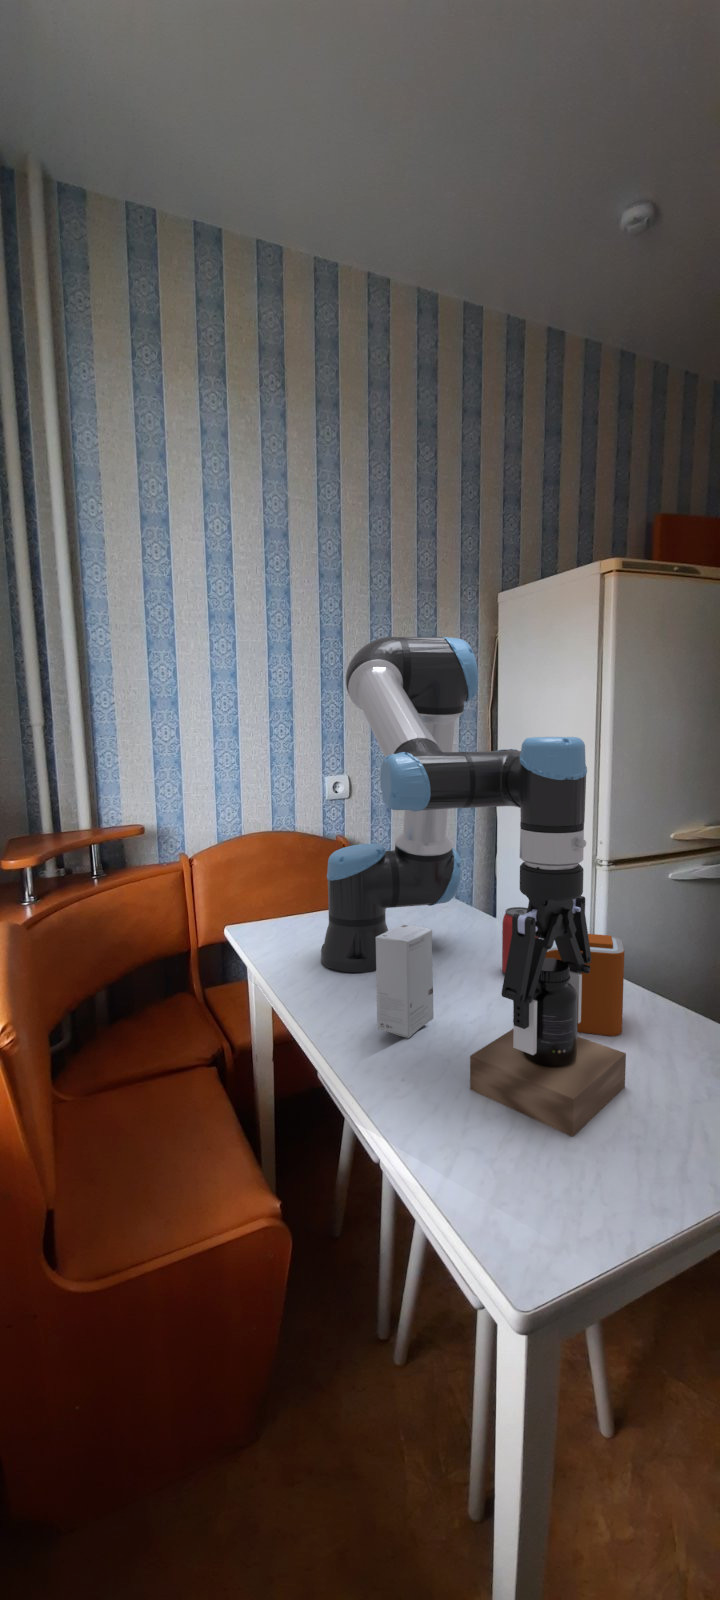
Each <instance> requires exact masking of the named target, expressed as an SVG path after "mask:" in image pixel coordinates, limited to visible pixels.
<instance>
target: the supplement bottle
mask: <svg viewBox="0 0 720 1600" xmlns="http://www.w3.org/2000/svg"><path fill="white" fill-rule="evenodd" d="M569 974H570V967H569V965H568V964H567V963H566V962H564V961H562V960H558V959H553V958H545V960H544V963H543V966H542V970H541V973H540V976H539V980H538V983H537V987H536V990H535V993H534V997H533V1000H536V1001H537V1051H536V1054H534V1055H531V1054H529V1053H526V1052H523V1051H522V1052H523V1054H524V1056H525V1057H526V1058H527V1059H528V1060H530V1061H531V1062H533V1063H535V1064H538V1065H541V1066H545V1067H564V1066H567V1065H569V1064H571V1063H572V1062H574V1060H575V1059H576V1057H577V1037H578V1032H577V1026H578V995H577V992H576V990H575V988H574V987H573V986H572V985H571V984H570V983H569V982H570V975H569Z"/></svg>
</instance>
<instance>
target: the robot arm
mask: <svg viewBox="0 0 720 1600" xmlns="http://www.w3.org/2000/svg"><path fill="white" fill-rule="evenodd" d="M478 685H479V670H478V664H477V660H476V656H475V654H474V651H473V649H472V647H471V645H470V644H469V643H468V642H467V641H465V639H462V638H458V637H457V638H456V637H447V636H408V637H407V636H403V637H401V636H400V637H399V636H385V637H380V638H377V639H374V640H373V641H370V642H369V643H367V644H365V645H364V646H362V647H361V648H360V649H359V650H358V651H357V652H356V654H355V655H354V656H353V658H352V659H351V660H350V662H349V664H348V666H347V669H346V674H345V686H346V691H347V693H348V696H349V698H350V700H351V701H352V703H353V704H354V705H355V706H356V707H357V708H359V709H360V710H361V711H362V712H363V714H364V716H365V718H366V720H367V722H368V725H369V727H370V729H371V731H372V733H373V735H374V737H375V740H376V741H377V743H378V746H379V748H380V750H381V752H382V754H383V756H384V759H383V760H382V763H381V767H380V775H379V777H380V780H379V781H380V782H379V783H380V790H381V794H382V796H381V797H382V800H383V802H384V804H385V806H386V807H388V808H389V809H391V810H393V811H404V814H403V816H404V817H403V830H402V831H403V832H402V833H401V834H400V835H399V836H397V837H396V839H395V843H394V850H386V848H385V846H384V845H383V844H381V843H373V842H372V843H360V844H353V845H350V846H345V847H341V848H340V849H337V850H335V851H333V852H332V853H331V854H330V855H329V857H328V861H327V871H326V872H327V873H326V879H327V892H328V893H327V895H328V900H327V901H328V925H327V929H326V932H325V937H324V941H323V942H324V943H323V944H322V946H321V949H320V958H321V959H320V962H321V961H322V962H321V963H322V964H323V965H324V966H325V967H327V968H328V969H332V970H333V971H339V972H343V973H344V972H345V973H367V972H374V971H376V937H377V936H379V935H381V934H383V933H385V932H387V931H388V930H389V929H388V926H387V922H386V919H387V918H386V909H391V908H404V907H407V908H408V907H417V906H418V907H419V906H429V907H431V906H435V905H438V904H445V903H449V902H450V901H451V900H452V899H454V898H455V896H456V894H457V893H458V890H459V887H460V883H461V879H462V878H461V877H462V868H461V867H460V866H461V858H460V855H459V853H458V851H457V850H456V849H455V848H454V847H453V842H452V841H451V840H450V838H448V837H447V835H446V834H447V823H448V811H449V810H450V809H451V810H452V809H467V808H469V809H470V808H471V809H473V808H474V809H475V808H494V807H495V808H497V807H514V808H520V809H519V811H520V824H519V825H520V826H519V827H520V829H519V831H520V832H519V859H520V860H522V863H521V864H520V866H519V891H520V893H521V894H522V895H524V896H526V898H527V899H528V905H527V908H528V909H527V913H526V914H524V915H520V914H514V915H513V917H512V937H511V943H510V949H509V954H508V960H507V965H506V971H505V974H504V975H503V976H504V977H503V983H502V989H501V997H502V998H505V999H508V1000H510V1001H511V1000H512V1002H513V1004H512V1005H513V1007H512V1008H513V1014H512V1015H513V1019H512V1023H513V1028H514V1034H513V1048H516V1049H518V1050H521V1051H523V1052H526V1053H529V1054H531V1055H534V1054H536V1051H537V1001H536V1000H533V997H534V993H535V990H536V987H537V983H538V980H539V976H540V973H541V970H542V966H543V963H544V960H545V956H546V953H547V950H548V949H551V948H552V946H553V943H554V940H555V943H556V946H557V948H558V951H559V954H560V957H561V960H562V961H564V962H566V963H567V964H568V965H569V967H570V974H569V975H570V982H569V983H570V984H571V985H572V986H573V987H574V988H575V990H576V992H577V995H578V1024H579V1023H580V1022H581V995H582V974H581V972H583V973H586V974H589V972H590V968H591V967H590V966H589V965H585V963H587V964H589V963H590V962H591V951H590V945H589V938H588V934H589V932H588V926H587V917H586V897H585V896H583V893H584V872H585V871H584V867H583V866H582V865H581V864H580V863H582V862H583V861H584V848H585V847H586V846H587V841H586V840H585V837H584V836H585V818H586V814H585V813H586V789H587V787H586V785H587V773H588V767H587V765H586V745H585V742H584V741H583V739H582V738H580V737H578V736H532V737H527V738H525V739H524V741H523V742H522V744H521V748H520V749H521V750H518V749H516V748H515V749H513V748H510V749H504V748H502V749H498V750H492V751H491V750H486V751H485V750H484V751H453V748H454V747H453V745H454V734H455V733H454V732H455V721H456V720H457V719H458V718H459V717H461V715H463V714H464V708H465V703H469V702H470V701H472V700H474V698H475V697H476V693H477V691H478ZM448 809H449V810H448ZM535 936H536V937H537V938H535ZM580 951H583V953H581V952H580Z"/></svg>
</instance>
